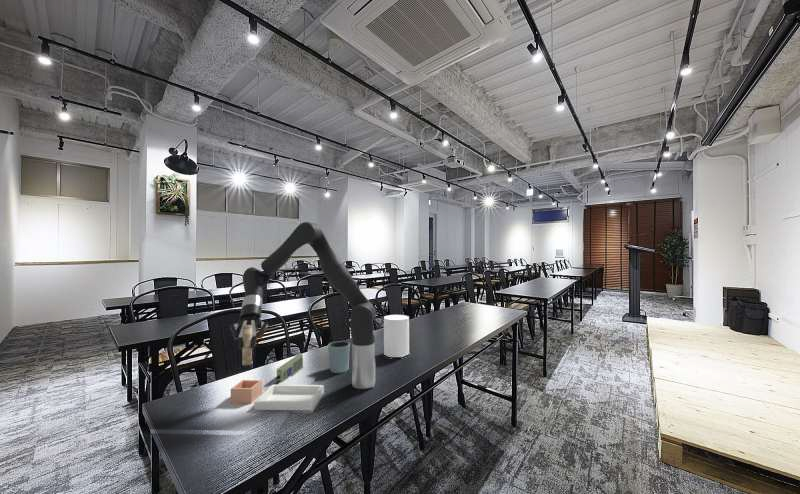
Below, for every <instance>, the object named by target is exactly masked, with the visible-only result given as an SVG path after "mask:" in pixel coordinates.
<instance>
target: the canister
mask: <svg viewBox="0 0 800 494" xmlns="http://www.w3.org/2000/svg"><path fill="white" fill-rule="evenodd" d="M408 354H409V355H410V316H409V315H405V314H389V315H385V316H383V356H384V355H386V356H388V357H404V356H406V355H408Z"/></svg>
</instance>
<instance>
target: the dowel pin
mask: <svg viewBox="0 0 800 494" xmlns="http://www.w3.org/2000/svg"><path fill="white" fill-rule="evenodd" d="M252 337H253V334H252V325H245V326H243V332H242V338H243V341H242V351H241V352H242V355H241V356H242V357H241V358H242V362H241V364H242V366H250V365H252V364H253V349H251V339H252Z"/></svg>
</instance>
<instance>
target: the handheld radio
mask: <svg viewBox="0 0 800 494" xmlns="http://www.w3.org/2000/svg"><path fill="white" fill-rule="evenodd" d="M303 357H304V355H303V353H298V354H297V355H295V356H294V357H293V358H291V359H290V360H288V361H286V362H285V363H284V364H282V365H281V366H279V367H278V368H276V382H275V383H274V384H277V385H280V383H282V382H283V383H284V382H285V381H286V380H287V379H289V378H290V377H293V376H295V375H296V374H297V373H298V372H299V371H301V370H302V369H303V368H304V361H303V360H304V359H303Z"/></svg>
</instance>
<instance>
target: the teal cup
mask: <svg viewBox="0 0 800 494" xmlns="http://www.w3.org/2000/svg"><path fill="white" fill-rule="evenodd" d="M327 347H328V357H329V371H330V372H331V373H333V374H342V373H346V372H348V371H349V370H350V368H349V367H350V350H351V343H350V342H349V341H345V340H338V341H333V342H332V341H331V342H330V343H328V344H327ZM347 370H348V371H347Z"/></svg>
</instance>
